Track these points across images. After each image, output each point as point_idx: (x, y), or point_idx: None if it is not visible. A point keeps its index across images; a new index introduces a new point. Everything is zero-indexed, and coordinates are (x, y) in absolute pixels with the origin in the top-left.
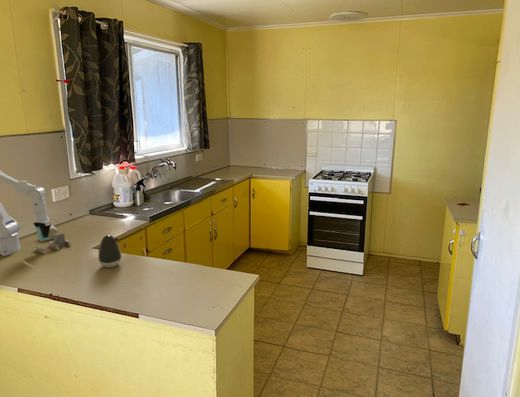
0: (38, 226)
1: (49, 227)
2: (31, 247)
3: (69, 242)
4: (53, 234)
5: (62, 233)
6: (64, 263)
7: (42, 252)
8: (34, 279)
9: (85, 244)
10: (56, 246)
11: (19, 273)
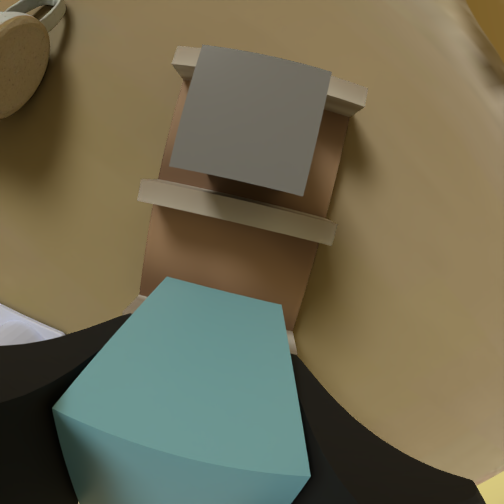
0: (84, 500)
1: (405, 470)
2: (41, 260)
3: (362, 103)
4: (185, 168)
5: (302, 78)
6: (496, 348)
7: None
8: (453, 472)
9: (390, 24)
10: (328, 243)
11: None
